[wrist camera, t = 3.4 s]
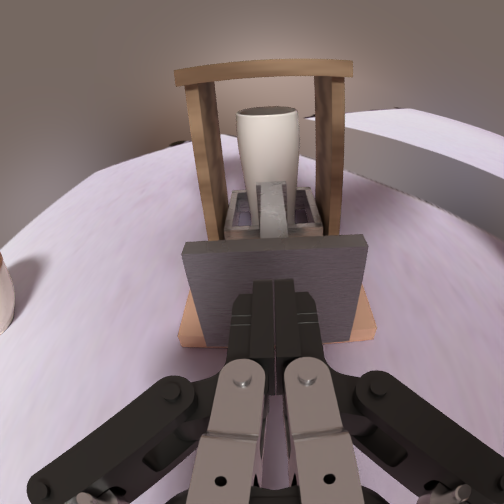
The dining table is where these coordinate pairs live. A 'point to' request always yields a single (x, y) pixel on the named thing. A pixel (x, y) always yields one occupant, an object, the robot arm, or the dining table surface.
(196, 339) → the board
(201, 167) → the walnut tunnel
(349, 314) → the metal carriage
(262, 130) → the drinking glass
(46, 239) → the dining table surface
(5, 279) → the lidded jar
